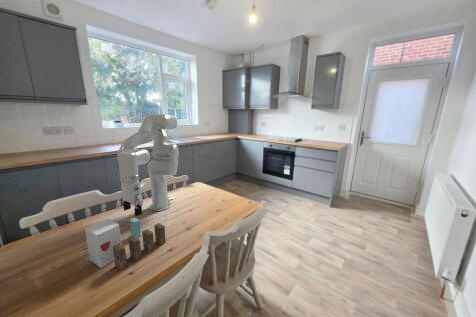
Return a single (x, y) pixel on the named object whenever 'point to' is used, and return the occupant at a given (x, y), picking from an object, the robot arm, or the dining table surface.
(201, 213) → the dining table surface
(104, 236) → the supplement box
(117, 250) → the domino
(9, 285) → the dining table surface
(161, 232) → the domino
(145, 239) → the domino
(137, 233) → the domino
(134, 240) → the domino
